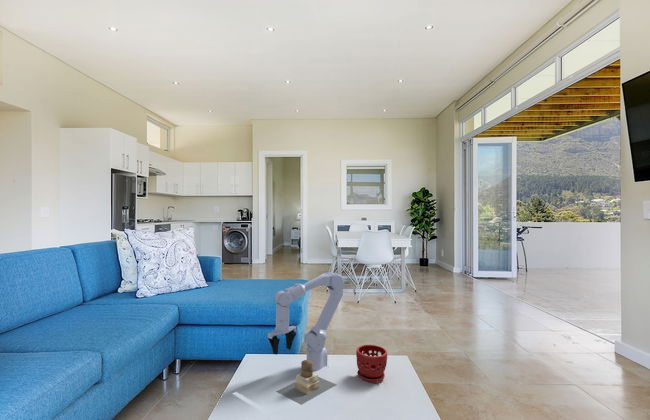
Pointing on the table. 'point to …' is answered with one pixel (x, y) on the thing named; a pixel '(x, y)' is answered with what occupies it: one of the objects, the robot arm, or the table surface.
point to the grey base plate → (302, 397)
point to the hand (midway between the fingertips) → (282, 351)
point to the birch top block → (307, 379)
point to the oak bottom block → (307, 389)
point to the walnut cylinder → (306, 368)
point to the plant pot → (371, 363)
